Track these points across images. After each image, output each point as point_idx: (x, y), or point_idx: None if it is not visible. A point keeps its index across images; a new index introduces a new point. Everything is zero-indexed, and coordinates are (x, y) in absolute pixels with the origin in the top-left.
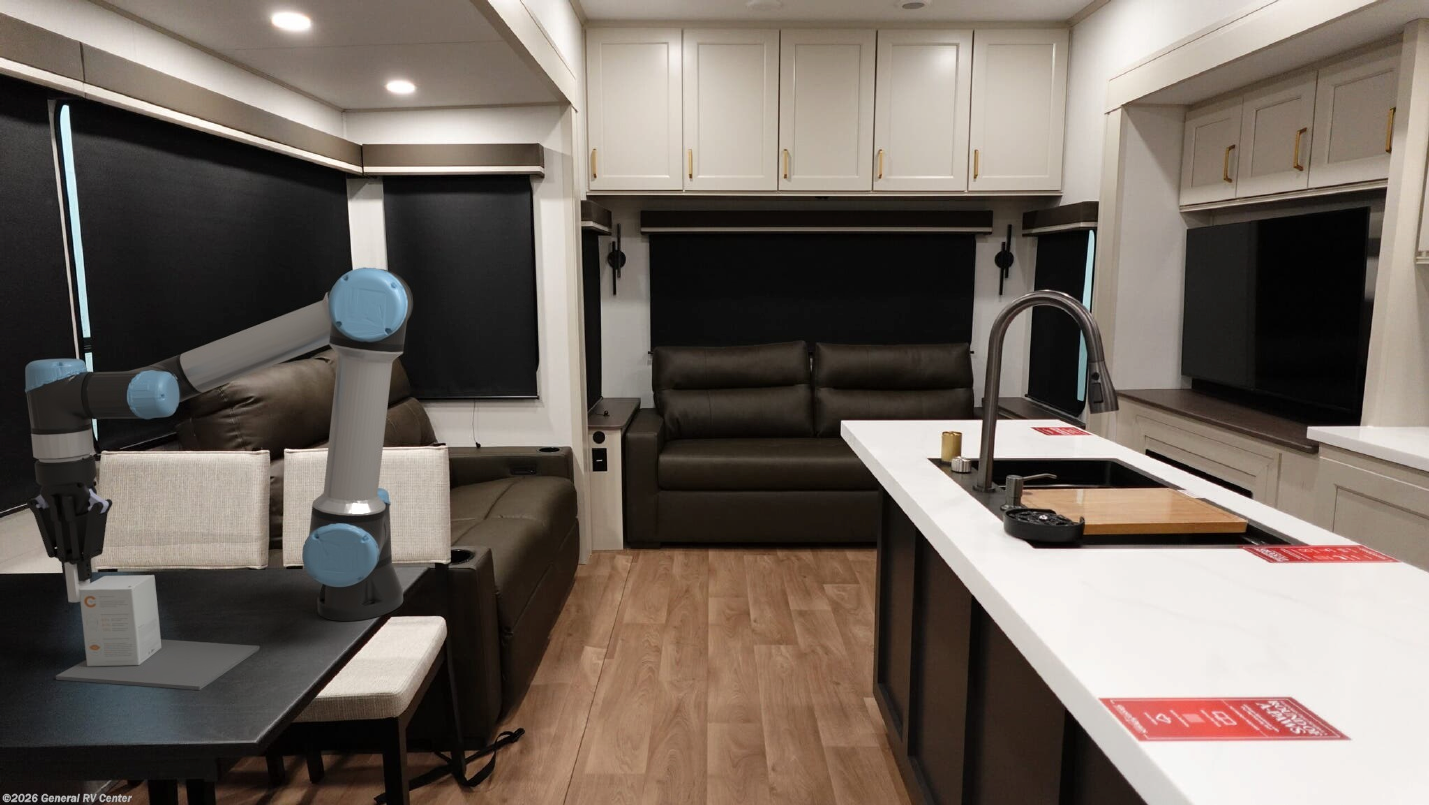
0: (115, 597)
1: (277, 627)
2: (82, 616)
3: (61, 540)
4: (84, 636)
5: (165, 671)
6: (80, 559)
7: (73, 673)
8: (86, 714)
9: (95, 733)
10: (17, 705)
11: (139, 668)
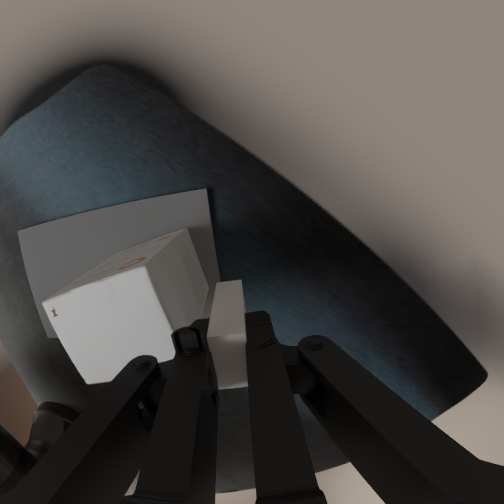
0: (77, 284)
1: (88, 389)
2: (164, 247)
3: (260, 401)
4: (175, 237)
5: (73, 250)
6: (175, 354)
7: (186, 203)
8: (78, 134)
9: (42, 115)
10: (184, 114)
11: (109, 247)
